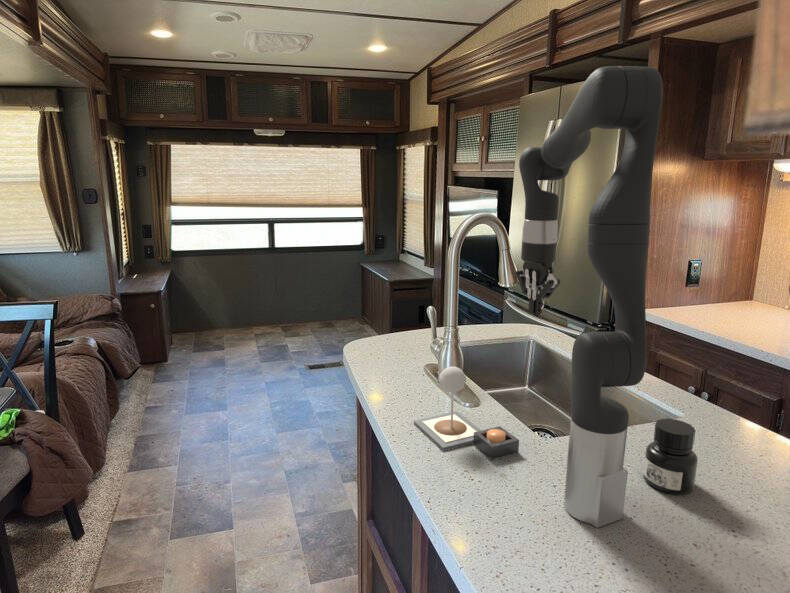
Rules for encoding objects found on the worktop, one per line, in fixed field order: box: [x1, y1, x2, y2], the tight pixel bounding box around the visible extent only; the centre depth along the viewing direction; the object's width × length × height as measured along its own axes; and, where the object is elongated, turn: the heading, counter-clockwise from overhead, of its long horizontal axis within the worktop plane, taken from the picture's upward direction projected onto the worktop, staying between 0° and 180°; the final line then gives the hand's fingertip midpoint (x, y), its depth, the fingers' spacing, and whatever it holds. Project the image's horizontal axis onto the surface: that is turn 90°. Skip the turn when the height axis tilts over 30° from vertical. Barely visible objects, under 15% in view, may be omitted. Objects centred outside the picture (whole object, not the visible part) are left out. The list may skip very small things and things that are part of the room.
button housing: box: [472, 425, 520, 461], centre depth 117 cm, size 7×7×3 cm
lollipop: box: [438, 366, 467, 428], centre depth 122 cm, size 6×6×15 cm
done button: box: [487, 429, 506, 444], centre depth 117 cm, size 4×4×3 cm
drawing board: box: [413, 411, 482, 452], centre depth 125 cm, size 14×12×1 cm
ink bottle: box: [642, 418, 699, 495], centre depth 103 cm, size 10×9×12 cm
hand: (534, 314), depth 123 cm, fingers closed
